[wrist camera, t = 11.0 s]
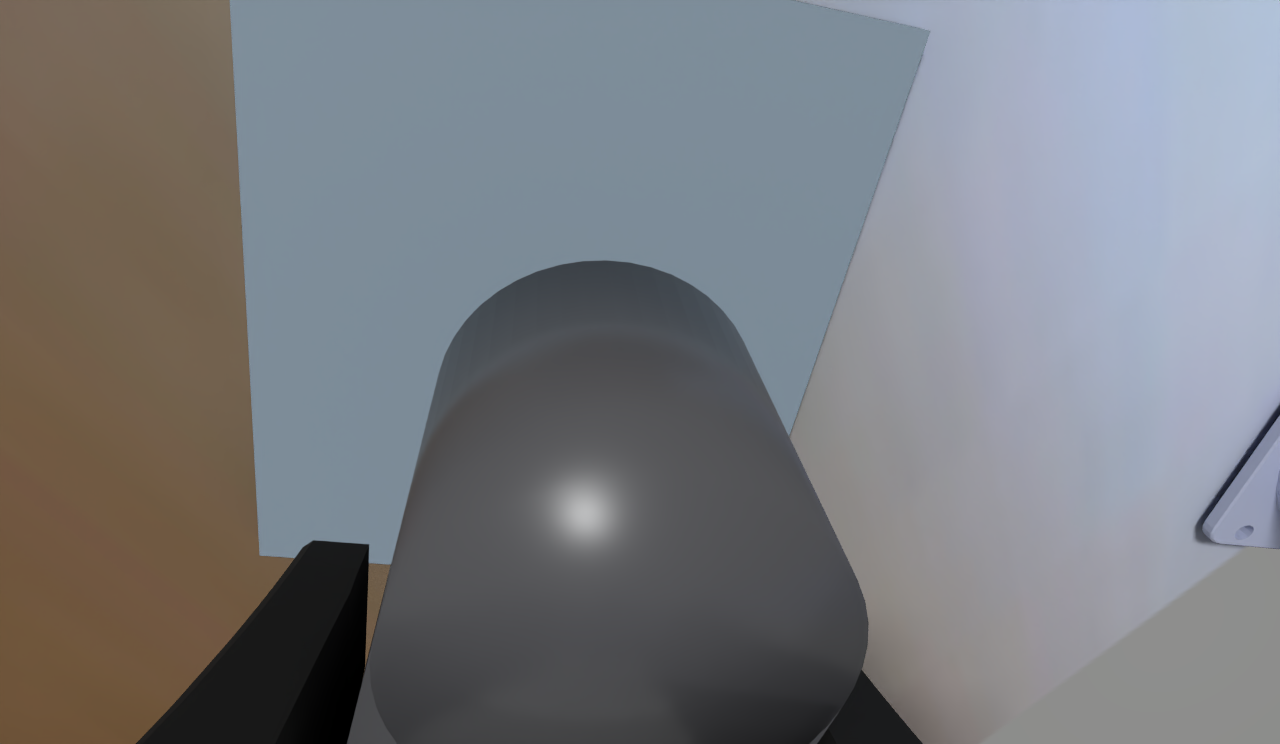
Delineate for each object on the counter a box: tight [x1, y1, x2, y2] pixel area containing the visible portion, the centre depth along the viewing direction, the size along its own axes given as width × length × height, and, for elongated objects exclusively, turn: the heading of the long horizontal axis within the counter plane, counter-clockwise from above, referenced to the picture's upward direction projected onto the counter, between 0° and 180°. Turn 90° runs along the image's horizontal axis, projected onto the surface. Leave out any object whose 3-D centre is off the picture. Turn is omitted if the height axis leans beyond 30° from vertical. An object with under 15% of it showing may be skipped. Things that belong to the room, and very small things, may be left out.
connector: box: [347, 260, 868, 744], centre depth 9 cm, size 4×10×4 cm, turn 161°
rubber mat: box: [230, 0, 930, 564], centre depth 16 cm, size 12×14×1 cm
